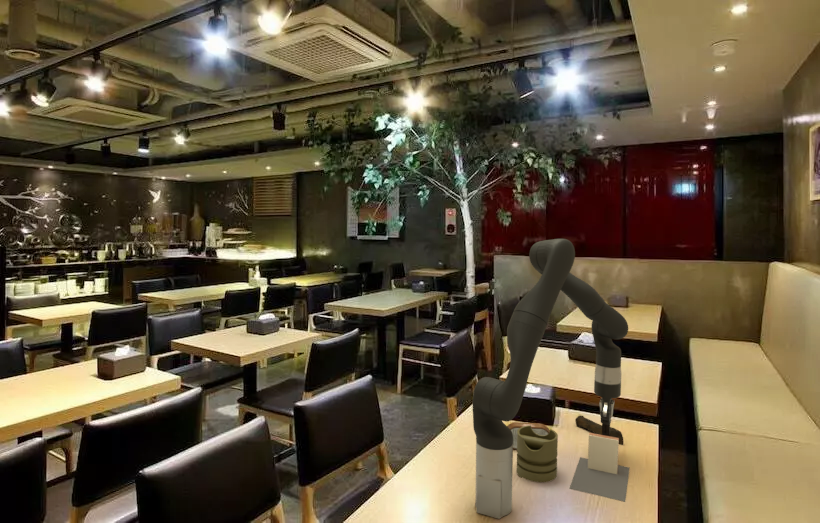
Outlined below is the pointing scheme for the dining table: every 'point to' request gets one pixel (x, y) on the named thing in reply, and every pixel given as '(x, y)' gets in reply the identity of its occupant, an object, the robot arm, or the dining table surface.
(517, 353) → the robot arm
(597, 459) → the tile
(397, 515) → the dining table surface
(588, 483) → the mat
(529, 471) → the piston
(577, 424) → the hand tool
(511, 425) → the tin
